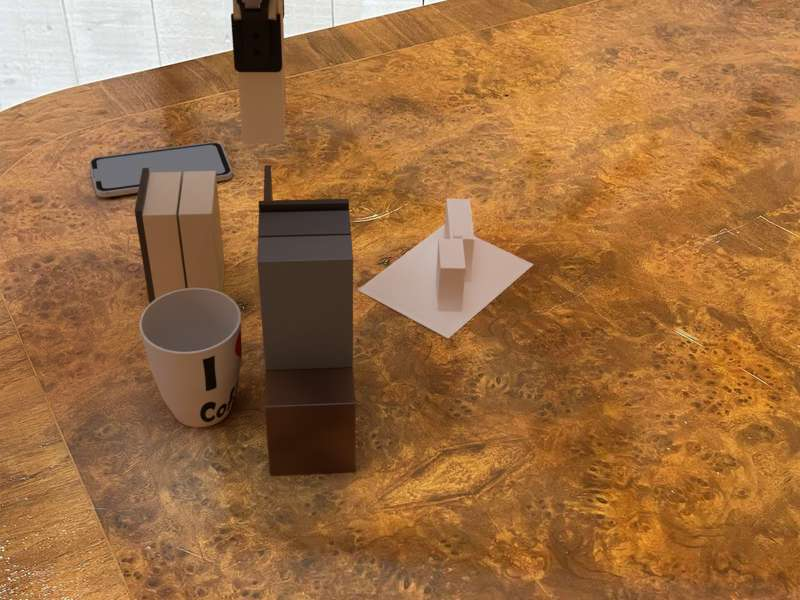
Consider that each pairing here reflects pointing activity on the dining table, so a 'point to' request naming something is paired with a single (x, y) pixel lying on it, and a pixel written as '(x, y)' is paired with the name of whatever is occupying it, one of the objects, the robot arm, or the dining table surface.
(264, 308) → the grey books
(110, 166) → the smartphone
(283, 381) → the dark brown box
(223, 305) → the cup
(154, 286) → the slotted desk organizer
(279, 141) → the tan rectangular block
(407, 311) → the napkin holder
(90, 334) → the dining table surface
